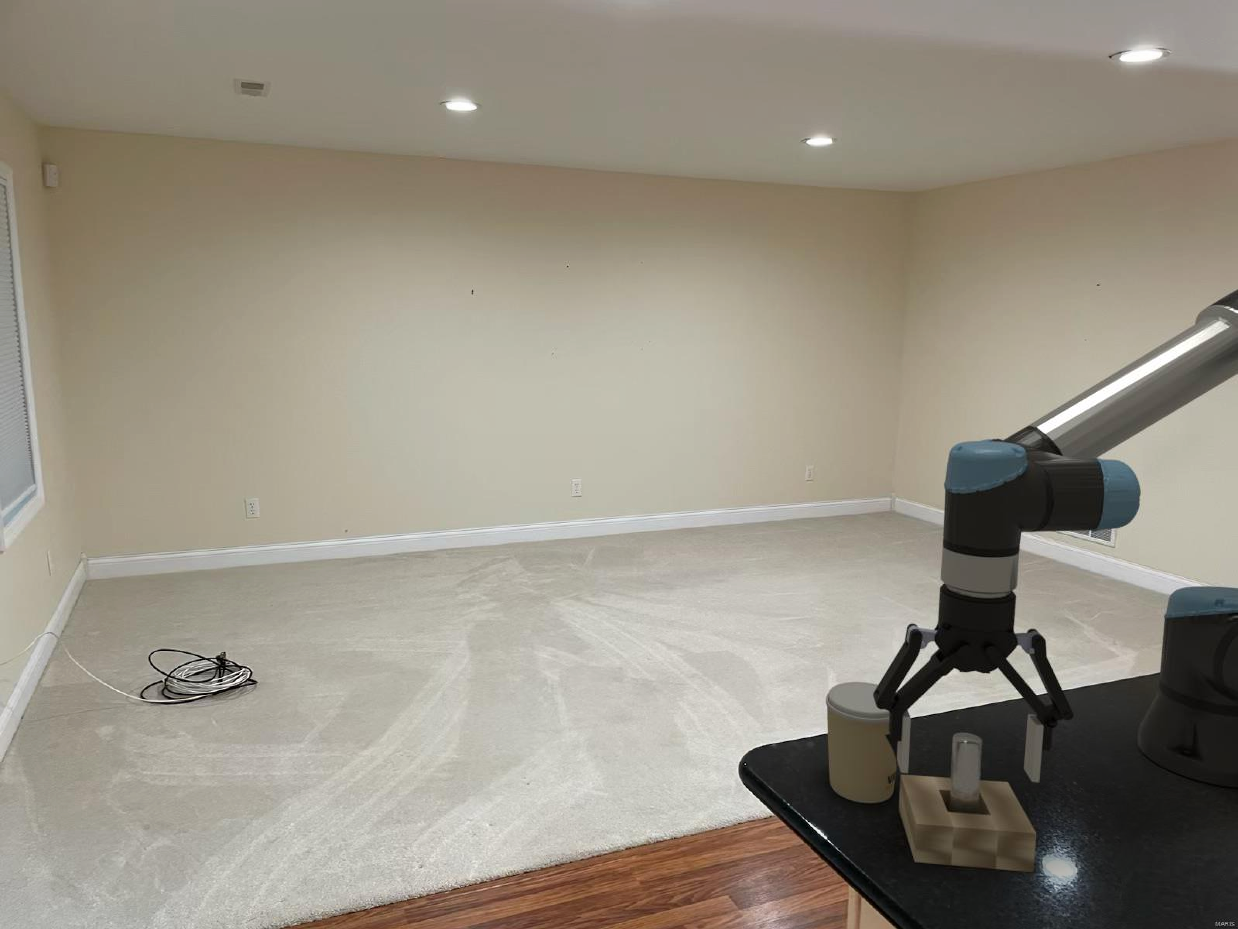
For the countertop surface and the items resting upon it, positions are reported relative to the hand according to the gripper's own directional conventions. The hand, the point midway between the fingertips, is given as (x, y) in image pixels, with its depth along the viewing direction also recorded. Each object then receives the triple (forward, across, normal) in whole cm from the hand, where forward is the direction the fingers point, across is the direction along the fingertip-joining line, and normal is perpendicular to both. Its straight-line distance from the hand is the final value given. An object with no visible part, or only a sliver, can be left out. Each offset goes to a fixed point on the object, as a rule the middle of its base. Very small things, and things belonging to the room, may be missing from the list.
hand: (966, 771), depth 92 cm
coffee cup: (+8, +10, -10) cm, 16 cm away
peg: (+8, 0, 0) cm, 8 cm away
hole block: (+8, 0, 0) cm, 8 cm away
